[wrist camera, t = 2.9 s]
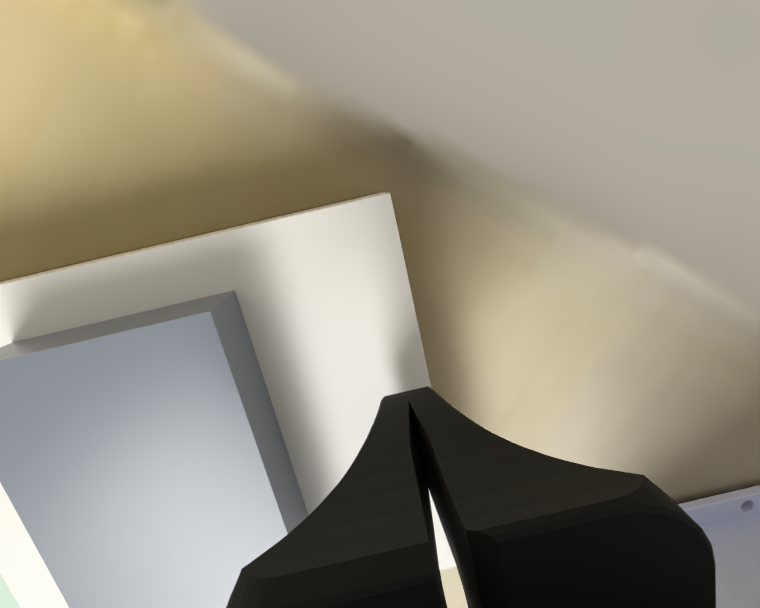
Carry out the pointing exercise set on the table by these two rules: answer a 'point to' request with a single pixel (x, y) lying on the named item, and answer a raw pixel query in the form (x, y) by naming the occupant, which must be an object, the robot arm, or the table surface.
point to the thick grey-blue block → (146, 455)
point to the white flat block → (256, 336)
